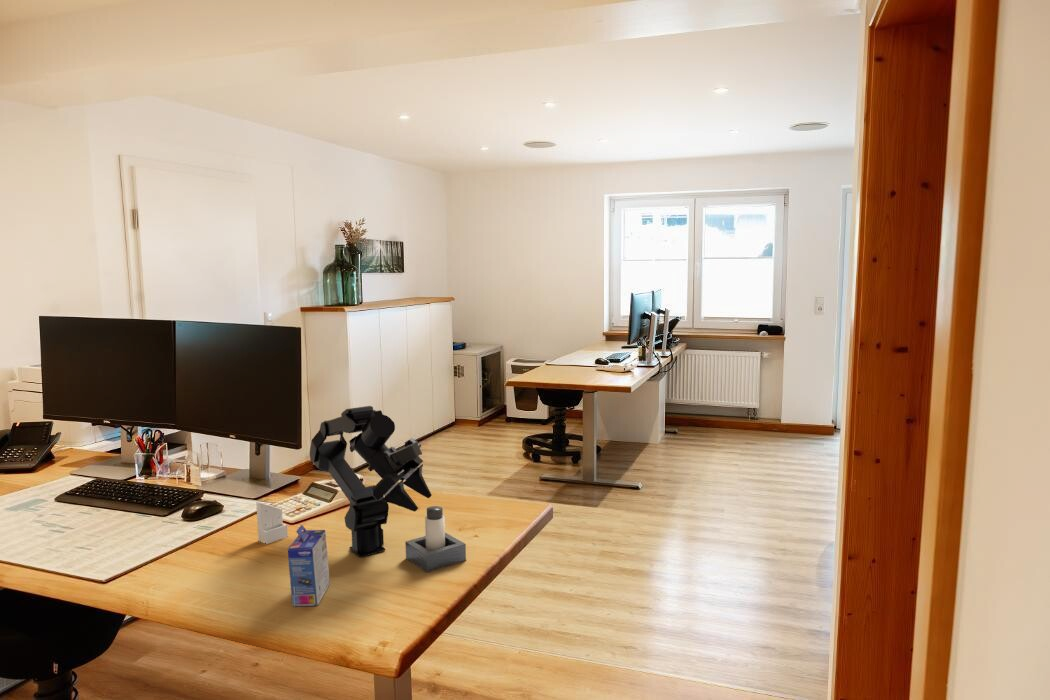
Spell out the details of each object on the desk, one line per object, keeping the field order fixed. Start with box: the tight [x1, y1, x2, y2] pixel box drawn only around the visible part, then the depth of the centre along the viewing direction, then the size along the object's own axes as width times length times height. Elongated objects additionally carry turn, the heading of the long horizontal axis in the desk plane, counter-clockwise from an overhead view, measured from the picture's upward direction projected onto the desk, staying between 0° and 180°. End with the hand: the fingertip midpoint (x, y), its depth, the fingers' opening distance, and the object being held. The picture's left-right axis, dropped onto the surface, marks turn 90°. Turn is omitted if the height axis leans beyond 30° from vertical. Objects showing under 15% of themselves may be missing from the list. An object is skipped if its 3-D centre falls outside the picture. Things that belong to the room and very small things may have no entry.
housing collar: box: [405, 532, 467, 573], centre depth 158 cm, size 10×10×4 cm
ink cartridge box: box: [287, 524, 330, 607], centre depth 141 cm, size 10×6×14 cm, turn 2°
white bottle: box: [424, 505, 446, 551], centre depth 158 cm, size 4×4×12 cm
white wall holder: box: [255, 501, 289, 545], centre depth 171 cm, size 4×10×9 cm, turn 143°
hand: (423, 503), depth 158 cm, fingers open, 9 cm apart
